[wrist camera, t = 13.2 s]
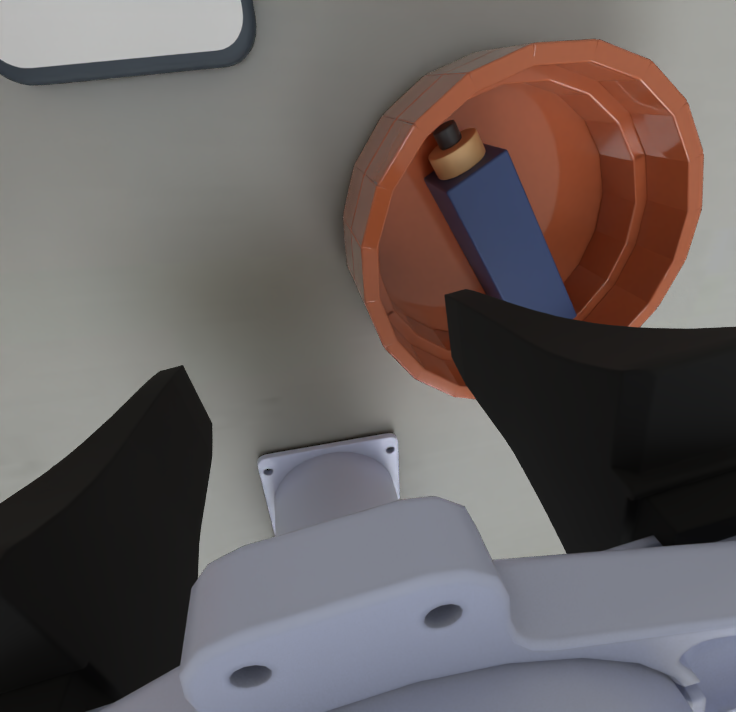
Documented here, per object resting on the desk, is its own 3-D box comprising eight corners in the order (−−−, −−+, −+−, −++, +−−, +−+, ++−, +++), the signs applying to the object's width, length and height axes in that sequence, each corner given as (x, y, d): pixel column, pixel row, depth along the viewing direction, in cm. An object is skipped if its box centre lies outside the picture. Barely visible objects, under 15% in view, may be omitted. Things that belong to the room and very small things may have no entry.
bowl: (586, 327, 26) (650, 375, 21) (353, 362, 24) (372, 422, 20) (647, 41, 19) (759, 29, 14) (327, 61, 17) (347, 53, 13)
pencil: (544, 291, 23) (578, 316, 21) (499, 320, 24) (527, 348, 21) (458, 103, 18) (489, 106, 16) (403, 143, 18) (425, 152, 16)
